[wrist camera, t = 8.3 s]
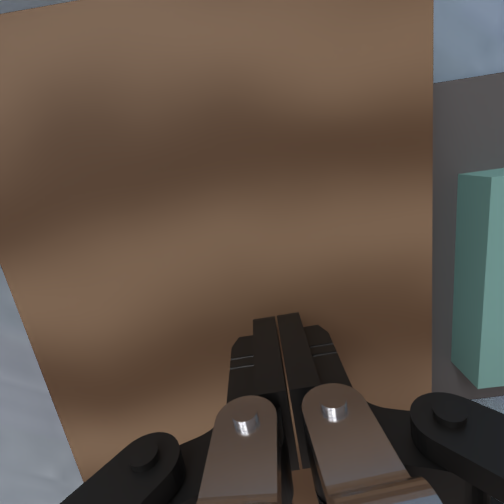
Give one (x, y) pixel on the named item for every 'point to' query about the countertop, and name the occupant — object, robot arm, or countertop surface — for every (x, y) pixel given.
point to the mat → (445, 201)
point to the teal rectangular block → (479, 279)
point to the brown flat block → (214, 200)
